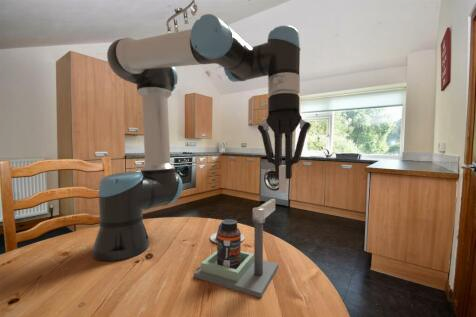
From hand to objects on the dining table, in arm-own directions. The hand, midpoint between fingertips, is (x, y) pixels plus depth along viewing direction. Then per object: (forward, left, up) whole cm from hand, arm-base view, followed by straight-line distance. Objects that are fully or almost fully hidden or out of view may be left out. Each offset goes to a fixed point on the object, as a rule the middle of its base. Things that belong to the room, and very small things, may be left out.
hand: (283, 191), depth 53 cm
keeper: (-5, 0, -7) cm, 8 cm away
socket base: (-10, -5, -20) cm, 23 cm away
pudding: (-23, +13, -21) cm, 33 cm away
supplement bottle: (-13, -5, -19) cm, 24 cm away
